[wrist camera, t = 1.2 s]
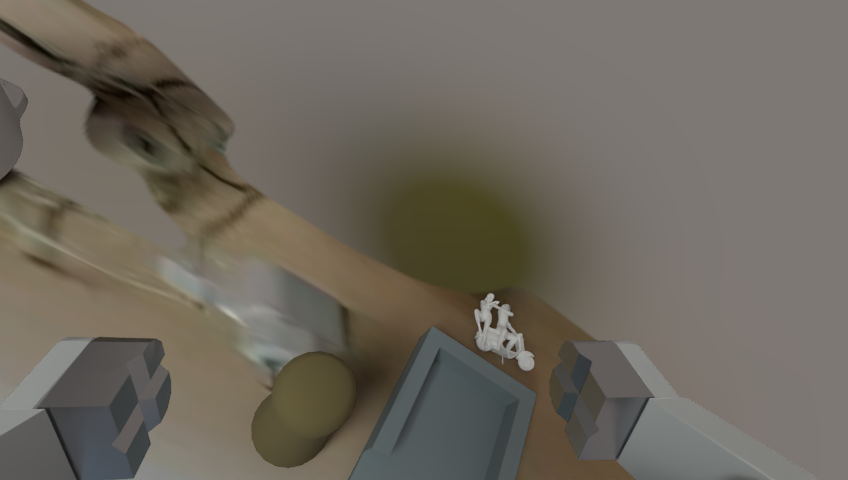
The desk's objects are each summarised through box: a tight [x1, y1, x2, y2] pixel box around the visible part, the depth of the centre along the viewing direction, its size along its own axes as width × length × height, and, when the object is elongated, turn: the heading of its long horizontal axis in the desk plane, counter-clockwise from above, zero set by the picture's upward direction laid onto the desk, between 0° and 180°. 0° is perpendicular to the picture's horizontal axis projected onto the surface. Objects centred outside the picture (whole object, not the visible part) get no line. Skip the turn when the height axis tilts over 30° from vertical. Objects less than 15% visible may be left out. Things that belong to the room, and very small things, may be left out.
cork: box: [252, 351, 356, 468], centre depth 30 cm, size 6×6×11 cm
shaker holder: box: [348, 326, 537, 480], centre depth 37 cm, size 12×16×3 cm
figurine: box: [474, 293, 534, 371], centre depth 46 cm, size 3×8×8 cm
